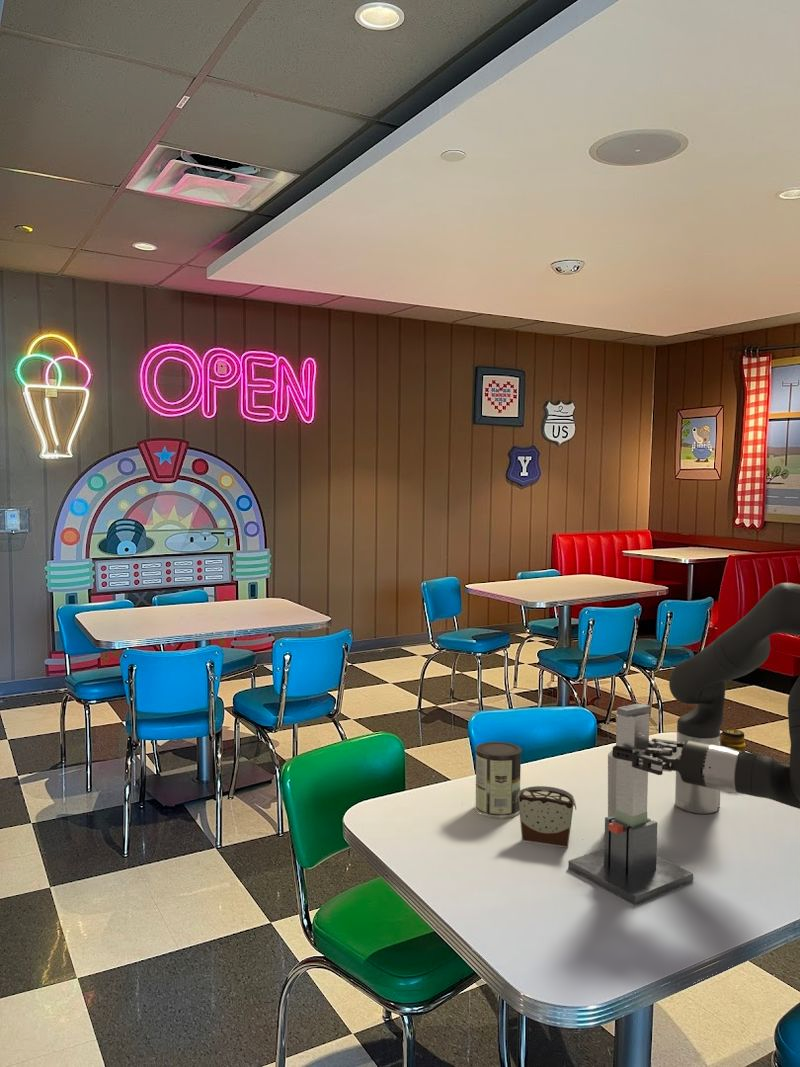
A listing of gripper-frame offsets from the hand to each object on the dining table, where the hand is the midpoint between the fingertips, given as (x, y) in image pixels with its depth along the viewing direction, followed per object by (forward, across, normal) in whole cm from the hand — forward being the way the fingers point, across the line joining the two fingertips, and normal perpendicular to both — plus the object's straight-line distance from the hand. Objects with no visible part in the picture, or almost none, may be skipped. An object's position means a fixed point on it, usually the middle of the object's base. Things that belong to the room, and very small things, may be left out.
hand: (619, 747), depth 149 cm
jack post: (-3, 0, +15) cm, 15 cm away
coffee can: (+33, -12, +24) cm, 42 cm away
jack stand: (-3, 0, +24) cm, 24 cm away
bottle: (+6, -17, +24) cm, 30 cm away
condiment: (-4, -65, +24) cm, 70 cm away
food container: (+17, -5, +24) cm, 30 cm away
